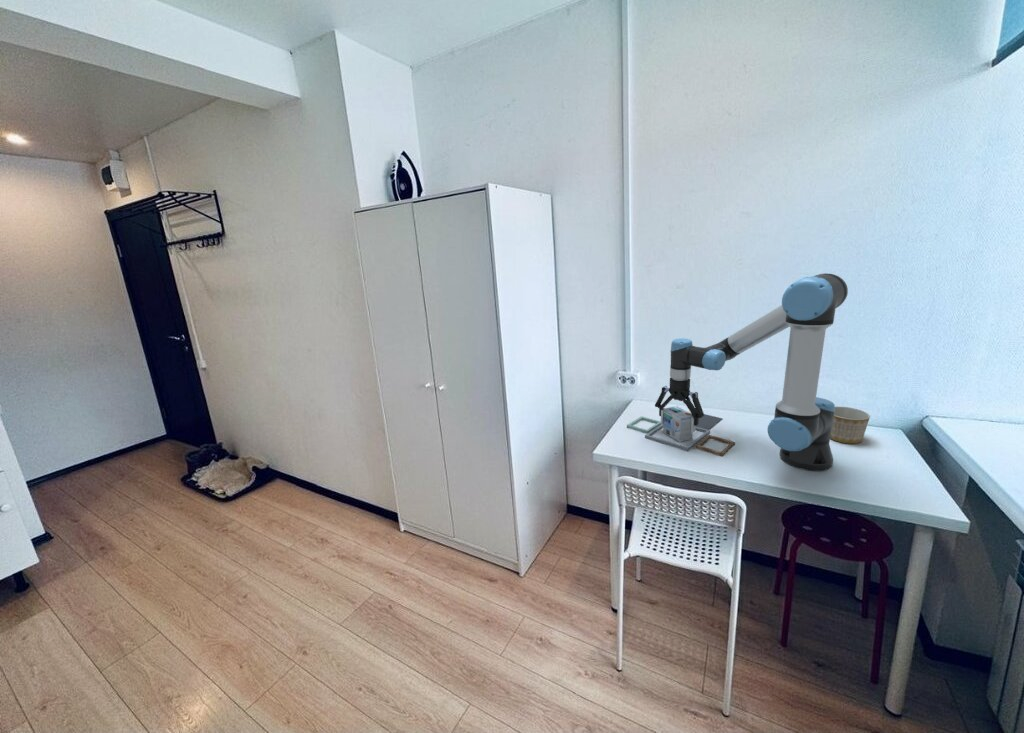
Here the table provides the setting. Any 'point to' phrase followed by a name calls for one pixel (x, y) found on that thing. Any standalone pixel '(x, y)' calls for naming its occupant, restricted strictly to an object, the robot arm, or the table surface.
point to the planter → (849, 425)
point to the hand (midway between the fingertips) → (677, 427)
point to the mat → (708, 421)
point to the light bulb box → (677, 423)
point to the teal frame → (657, 423)
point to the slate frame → (649, 436)
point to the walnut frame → (723, 452)
